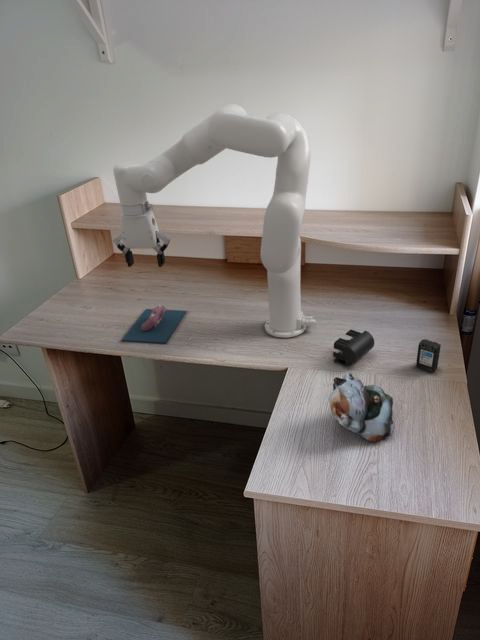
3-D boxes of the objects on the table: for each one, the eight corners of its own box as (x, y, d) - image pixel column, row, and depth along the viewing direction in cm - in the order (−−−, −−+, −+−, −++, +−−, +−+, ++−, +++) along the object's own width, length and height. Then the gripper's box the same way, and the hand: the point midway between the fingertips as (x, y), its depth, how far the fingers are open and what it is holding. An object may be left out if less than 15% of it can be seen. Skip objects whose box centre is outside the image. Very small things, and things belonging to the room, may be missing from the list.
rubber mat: (186, 312, 170) (186, 310, 170) (165, 344, 154) (165, 342, 153) (146, 310, 173) (146, 309, 172) (121, 341, 156) (121, 339, 156)
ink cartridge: (415, 367, 136) (418, 342, 132) (419, 363, 138) (422, 338, 134) (433, 373, 134) (437, 347, 129) (437, 369, 135) (441, 343, 131)
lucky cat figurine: (393, 448, 111) (368, 411, 103) (342, 452, 118) (315, 418, 110) (398, 392, 120) (375, 355, 113) (351, 399, 127) (326, 364, 119)
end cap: (354, 371, 137) (356, 349, 133) (332, 362, 141) (332, 341, 137) (373, 354, 143) (375, 333, 139) (351, 346, 147) (352, 325, 143)
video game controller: (152, 336, 159) (159, 319, 155) (139, 330, 159) (145, 312, 155) (163, 321, 168) (170, 304, 164) (151, 315, 167) (157, 298, 163)
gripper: (168, 204, 147) (177, 260, 156) (112, 205, 150) (124, 260, 160) (159, 212, 141) (169, 270, 150) (101, 213, 144) (114, 270, 153)
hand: (146, 265), depth 155 cm, fingers open, 9 cm apart
